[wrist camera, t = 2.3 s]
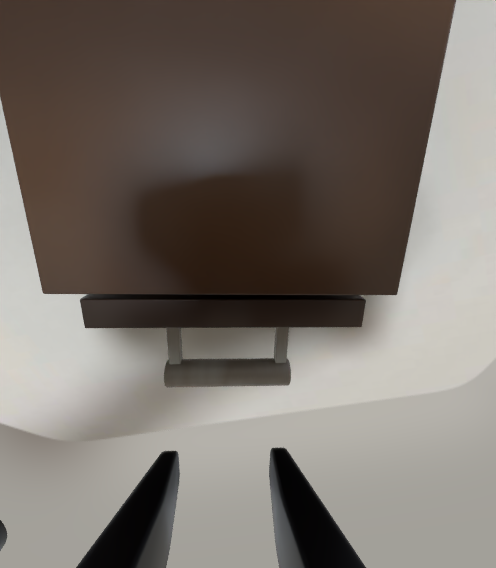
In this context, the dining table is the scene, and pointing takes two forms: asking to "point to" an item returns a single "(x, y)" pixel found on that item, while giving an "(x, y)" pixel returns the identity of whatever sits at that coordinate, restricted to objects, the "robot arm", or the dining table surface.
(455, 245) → the dining table surface
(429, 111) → the cabinet
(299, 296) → the drawer
